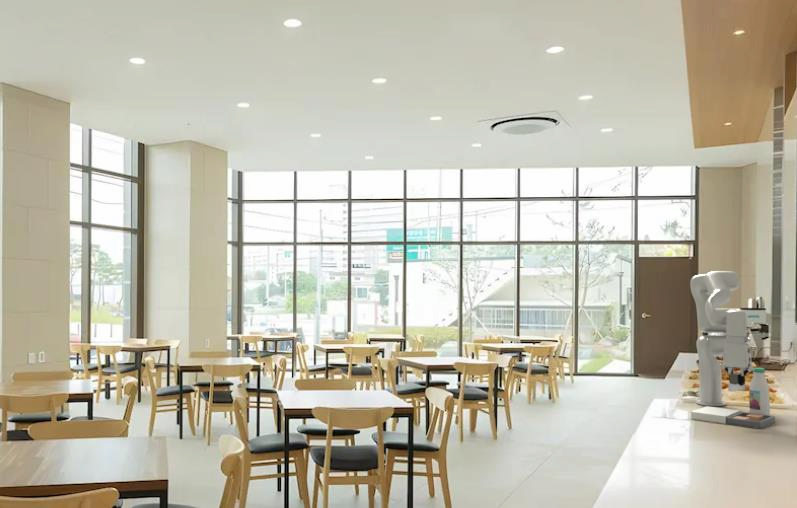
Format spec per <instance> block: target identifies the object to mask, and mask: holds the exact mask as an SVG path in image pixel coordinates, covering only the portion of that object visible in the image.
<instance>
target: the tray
mask: <svg viewBox="0 0 797 508" xmlns="http://www.w3.org/2000/svg"><path fill="white" fill-rule="evenodd" d="M749 414H754V413H750V412H744V411H740V413H737V414H735V415H732V416H730V417H727V423H726V424H727V425H731V426H740V427H747V428H754V429H759V430H761V429H764V428H766V427H768V426H771V425H772V424H775V423H776V416H775V415H771V414H770V415H763V416H764V420H762V421H759V422H758V421H751V420H744V419H736V418H733V417H736V416H741V417H746V416H747V415H749ZM756 415H762V414H756Z"/></svg>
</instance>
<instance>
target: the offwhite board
mask: <svg viewBox="0 0 797 508" xmlns="http://www.w3.org/2000/svg"><path fill="white" fill-rule="evenodd" d="M740 412H741V410H739V409H733V408H732V409H730V408H724V407H718V406H706V405H705V406H704V407H701V408H697V409H693V410H692V411H690V418H691V420H697V421H702V422H703V421H704V422H705V421H706V422H711V423H717V422H718V424H727V417H730V416H732V415H735V414H737V413H740Z"/></svg>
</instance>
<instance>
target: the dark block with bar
mask: <svg viewBox="0 0 797 508" xmlns="http://www.w3.org/2000/svg"><path fill="white" fill-rule="evenodd" d="M740 374H741V373H739V372H738V373H737V372H733V373H730V382H729V383H728V388H727V389H728V390H727V391H728V392H731V393H732V392H743V391H746V383H745V384H744V385H742V386H740V385H739V384H740V382H739V377H740ZM730 383H732V384H730Z"/></svg>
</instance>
